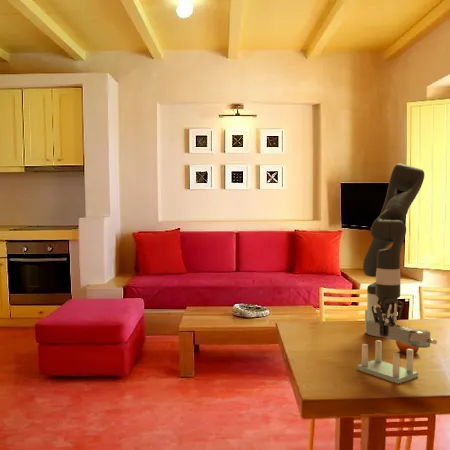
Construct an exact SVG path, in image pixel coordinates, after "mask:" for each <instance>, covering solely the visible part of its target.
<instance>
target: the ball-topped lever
mask: <svg viewBox="0 0 450 450" xmlns="http://www.w3.org/2000/svg"><path fill="white" fill-rule="evenodd" d="M367 333H369V334H373V335H377V336H376V337H378V336H380V325H379V324H378V323H375V320H374V319H372V320H368V321H366V334H367ZM369 334H368V335H369ZM381 337H382V338H385V339H388V340H393V341H395V342H396V341H400V342H403V343H407V344H409V345H411V346H413V347H418V348H419V349H425V348H426V349H428V348H431V344H433V345H437V343H438V341H437V340H436V339H432V338H431V332H430V331H429V330H425V329H421V328H419V329H417V328H412V327H409V326H408V327H407V326H404V325H400V324H397V323H395V324H391V323H387V336H386V337H383V336H381ZM381 337H380V338H381Z"/></svg>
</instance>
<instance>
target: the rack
mask: <svg viewBox="0 0 450 450" xmlns="http://www.w3.org/2000/svg"><path fill="white" fill-rule="evenodd" d="M374 343H375V346H374V347H375V352H374V353H375V357H374V358H375V359H372V360H370V361H369V344H367V343H362V344H361V363H360V364H356V370H358V371H360V372H362V373H366V374H369V375H372V376H374V377H378V378H380V379H384V380H386V381H389V382H392V383H394V382H395V384H397V383H398V385H400V384H402V382H403V383H404V382H405V383H406V382H408V381H411V380H414V379H417V378H418V377H419V372H418V371H416V370H415V371H414V354H413V349H407V354H406V365H405V366H406V368H405V367H402V366H400V365H401V363H400V362H401V358H400V357H401V354H400V353H398V352H393V353H392V363H390V362H387V361H383V360H382V356H383V355H382V353H383V352H382V349H383V347H382V345H383V341H382V340H379V339H378V340H377V339H376V340H375V342H374ZM416 377H417V378H416ZM413 378H414V379H413ZM399 383H400V384H399Z"/></svg>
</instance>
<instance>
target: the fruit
mask: <svg viewBox="0 0 450 450" xmlns="http://www.w3.org/2000/svg"><path fill="white" fill-rule="evenodd" d="M395 344H396V346H397V348H398V350H399V352H400V353H401V354H404V355H407V349H413V355H415V354H417V353H418V351H419V349H420V348H418V347H413V346H411V345H409V344H407V343H403V342H400V341H396V340H395Z"/></svg>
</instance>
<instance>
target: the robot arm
mask: <svg viewBox="0 0 450 450" xmlns="http://www.w3.org/2000/svg"><path fill="white" fill-rule="evenodd" d="M424 180H425V171H424V170H423V169H422V168H418V167H415V166H411V165H408V164H403V163H397V164H396V165H395V166H394V167H393V169H392V171H391V175H390V178H389V182H388V186H387V190H386V191H387V192H386V196H385V198H384V202H383V205H382V209H381V211H380V214H379V216H377V217H376V218H375V219H374V221H373V223H372V225H371V227H370V235H371V237H372V240H371V243H370V245H369V246H368V249H367V252H366V255H365V257H364V259H363V263H362V268H363V270H362V271H363V273H364V275H366V277H372V278H375V281H374V282H372V283H370V284H369V285H367V290H366V291H367V293H366V295H367V296H366V297H367V298H366V301H367V302H366V303H367V304H366V308H367V309H366V310H365V311H364V334H365V333H366V321H368V320H372V319H374V320H375V323H378V324H379V325H380V336H377V335H373V334H369V333H366V334H367V335H369V336H372V337H380V338H381V336H383V337H382V338H384V337H386V336H387V323H391V324H397V322H398V321H400V320H401V317H402V314H403V308H404V302H403V301H399V300H398V299H399V298H400V297H401V267H400V266H401V251H402V247H403V243H404V240H405V238H406V233H407V226H406V224H405V220H406V217H407V215H408V212H409V209H410V207H411V205H412V204H413V202H414V201H415V199H416V197H417V196H418V194H419V192H420V190H421V188H422V186H423V184H424V183H423V182H424ZM398 190H399V191H402V192H401V193H398ZM391 244H392V246H391V247H389V246H390V245H391Z"/></svg>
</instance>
